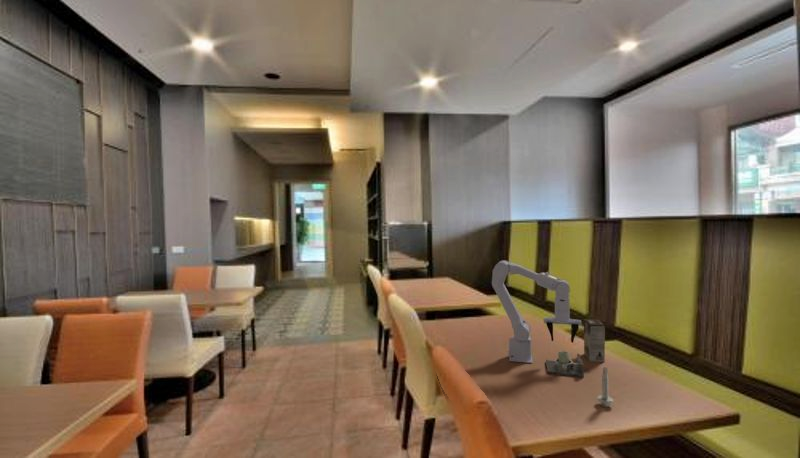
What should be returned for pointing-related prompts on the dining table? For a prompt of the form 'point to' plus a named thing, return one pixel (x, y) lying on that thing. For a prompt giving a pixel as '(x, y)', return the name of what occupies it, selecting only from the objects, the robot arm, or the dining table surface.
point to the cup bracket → (566, 368)
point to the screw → (605, 391)
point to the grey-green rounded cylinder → (563, 357)
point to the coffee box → (594, 340)
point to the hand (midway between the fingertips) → (562, 341)
